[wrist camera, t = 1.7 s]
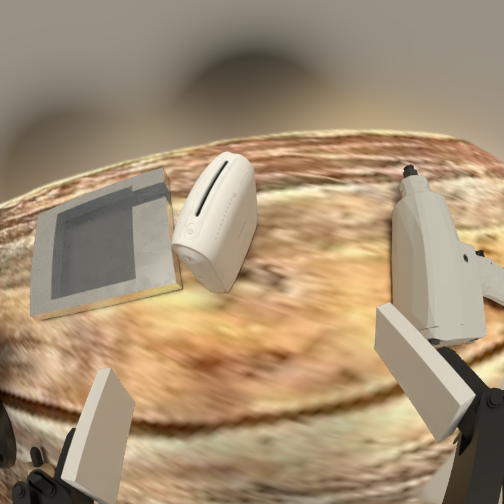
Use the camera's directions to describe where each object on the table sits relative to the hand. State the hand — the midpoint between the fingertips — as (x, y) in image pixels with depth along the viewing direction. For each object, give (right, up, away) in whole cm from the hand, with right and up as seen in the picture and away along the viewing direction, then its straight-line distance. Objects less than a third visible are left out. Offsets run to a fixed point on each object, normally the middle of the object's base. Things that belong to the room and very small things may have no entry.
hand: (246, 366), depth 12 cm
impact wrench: (+28, +4, +18) cm, 34 cm away
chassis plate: (-20, +6, +21) cm, 29 cm away
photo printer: (-2, +5, +20) cm, 21 cm away
